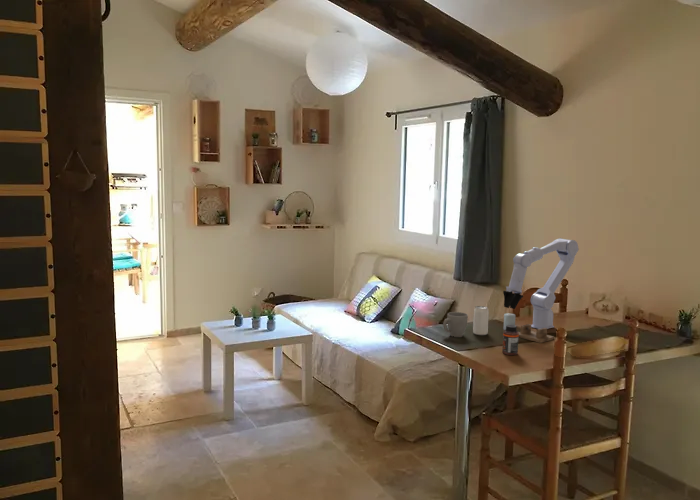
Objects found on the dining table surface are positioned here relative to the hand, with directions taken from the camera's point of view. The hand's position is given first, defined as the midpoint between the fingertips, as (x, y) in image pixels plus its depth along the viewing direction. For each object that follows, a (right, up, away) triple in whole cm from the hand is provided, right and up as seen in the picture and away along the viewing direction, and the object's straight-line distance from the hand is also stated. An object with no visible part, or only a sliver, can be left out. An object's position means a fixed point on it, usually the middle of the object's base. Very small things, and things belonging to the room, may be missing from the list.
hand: (509, 308), depth 276 cm
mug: (-27, -11, -11) cm, 31 cm away
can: (-15, -11, -6) cm, 19 cm away
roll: (+1, -10, +3) cm, 11 cm away
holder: (+8, -12, -11) cm, 18 cm away
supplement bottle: (-9, -15, -36) cm, 40 cm away
